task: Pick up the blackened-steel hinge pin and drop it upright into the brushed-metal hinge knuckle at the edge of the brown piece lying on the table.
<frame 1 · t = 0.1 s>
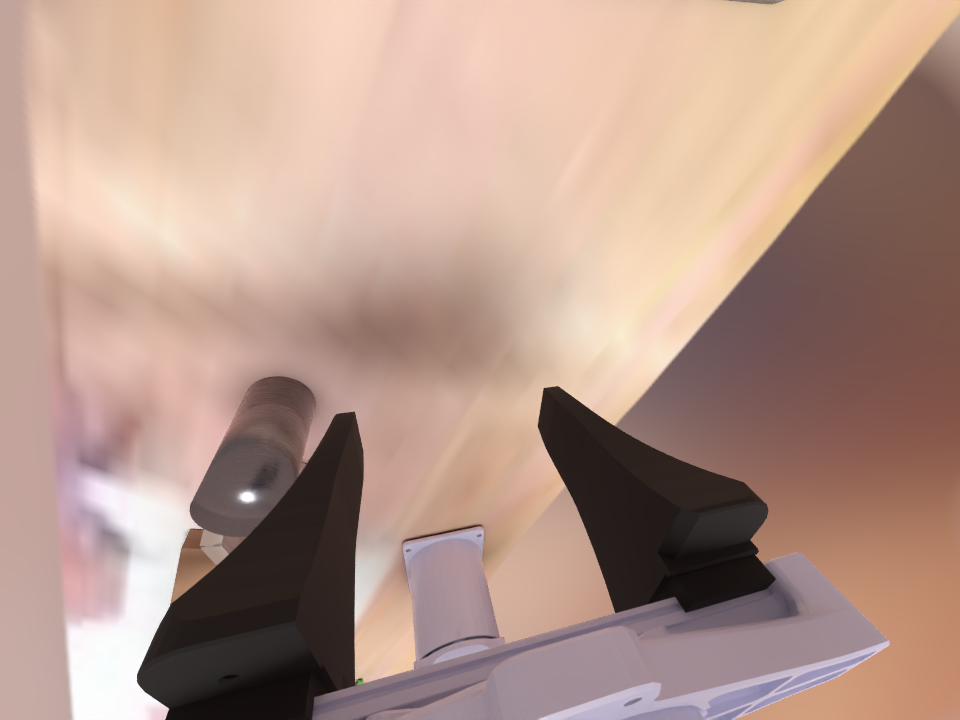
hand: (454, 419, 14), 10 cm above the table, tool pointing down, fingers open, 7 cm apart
brown piece: (288, 503, 28), on the table
hinge pin: (281, 402, 23), on the table
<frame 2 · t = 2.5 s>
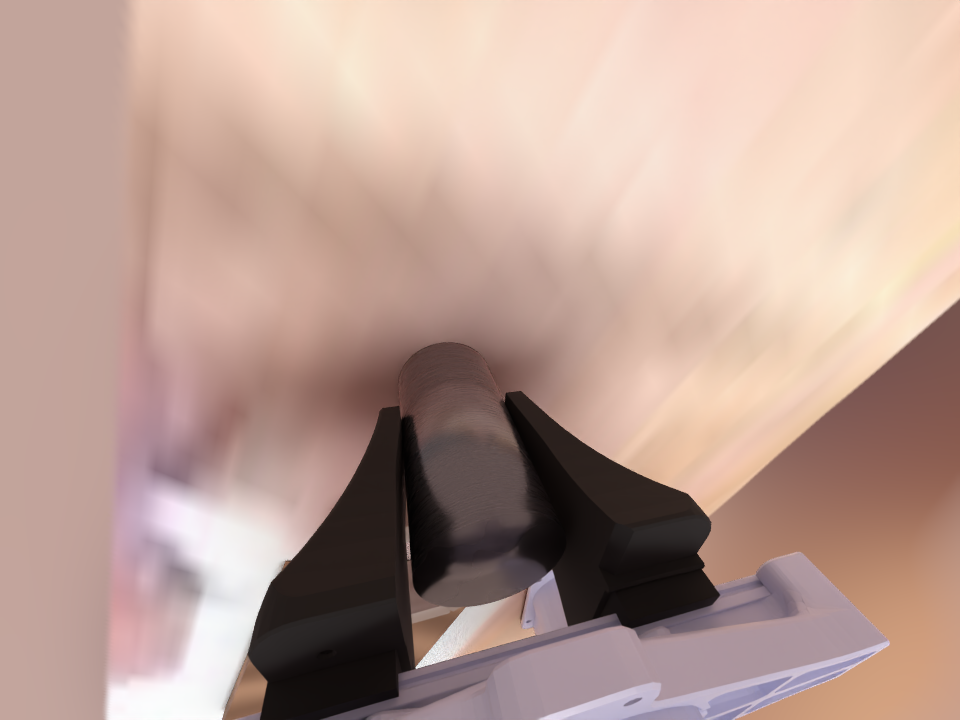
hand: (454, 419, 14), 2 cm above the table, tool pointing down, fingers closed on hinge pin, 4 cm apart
brown piece: (415, 525, 21), on the table
hinge pin: (445, 382, 16), on the table, touching gripper
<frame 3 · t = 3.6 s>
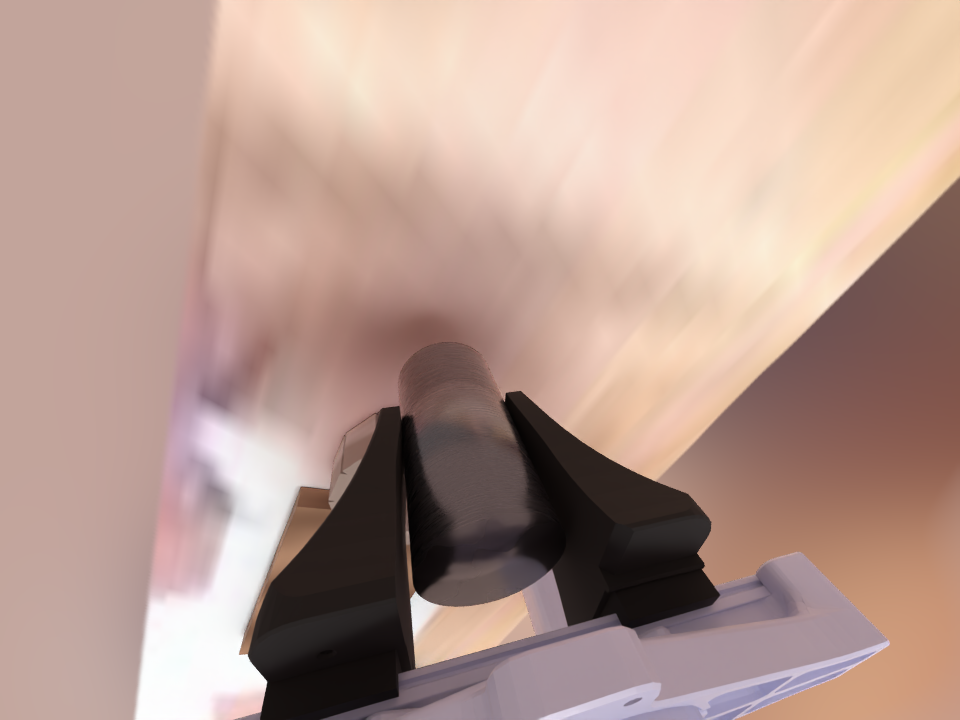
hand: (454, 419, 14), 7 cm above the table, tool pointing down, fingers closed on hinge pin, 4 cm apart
brown piece: (409, 459, 25), on the table
hinge pin: (445, 382, 16), point 5 cm above the table, touching gripper
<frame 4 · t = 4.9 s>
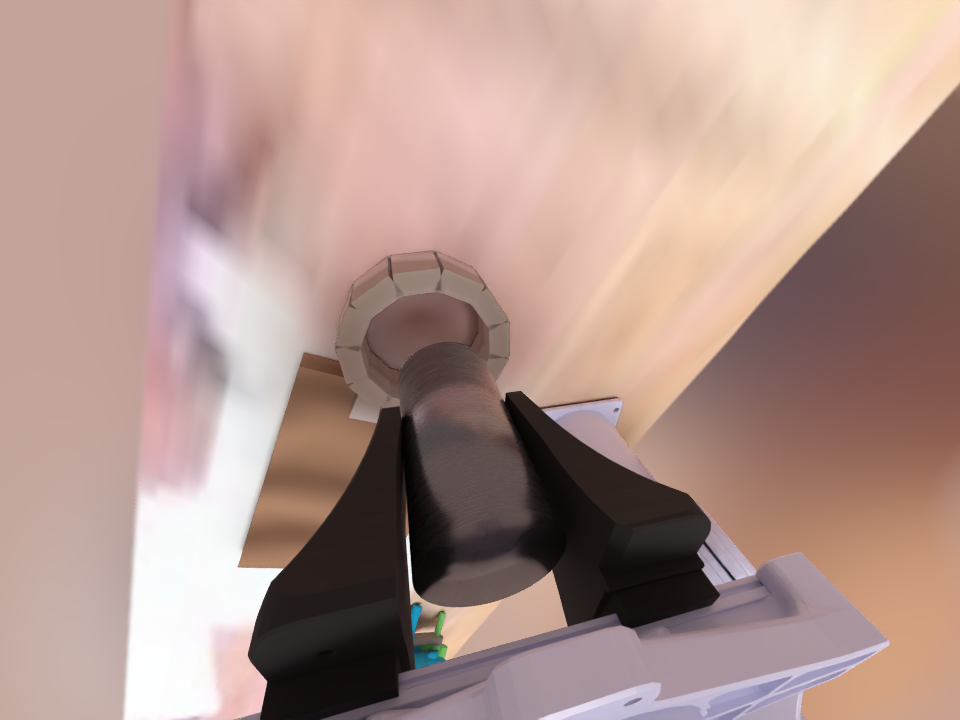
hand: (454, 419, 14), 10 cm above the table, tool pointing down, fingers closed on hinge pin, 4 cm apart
gear: (405, 615, 43), on the table
brown piece: (423, 328, 22), on the table
hinge pin: (445, 382, 15), point 7 cm above the table, touching gripper
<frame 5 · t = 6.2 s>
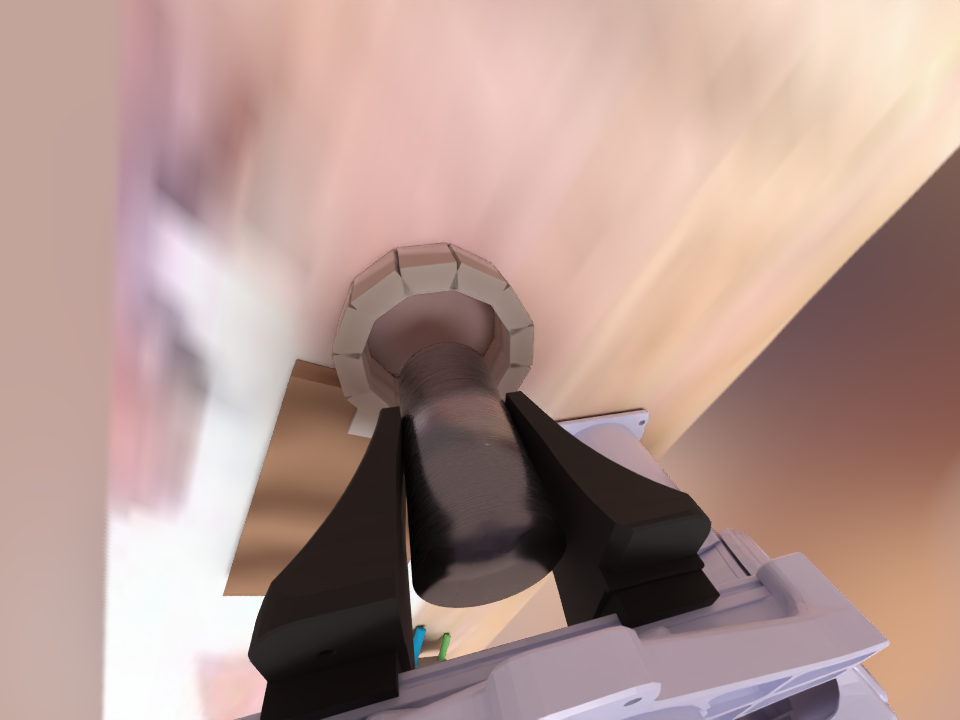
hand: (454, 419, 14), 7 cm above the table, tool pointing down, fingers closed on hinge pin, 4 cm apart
gear: (407, 638, 40), on the table
brown piece: (432, 331, 19), on the table
hinge pin: (445, 382, 15), point 5 cm above the table, touching gripper
when the fingers open (4 cm above the table, at t = 7.3 s): hinge pin drops 2 cm, resting in brown piece.
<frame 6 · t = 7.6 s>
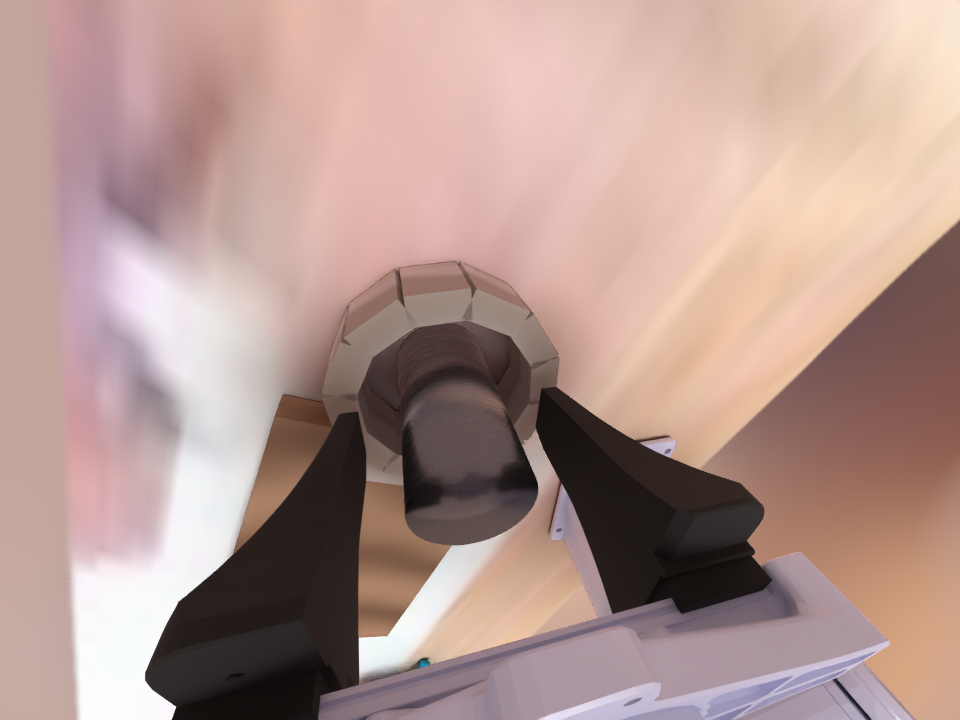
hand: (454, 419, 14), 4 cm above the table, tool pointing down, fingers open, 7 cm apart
brown piece: (439, 360, 17), on the table
hinge pin: (440, 360, 17), resting in brown piece
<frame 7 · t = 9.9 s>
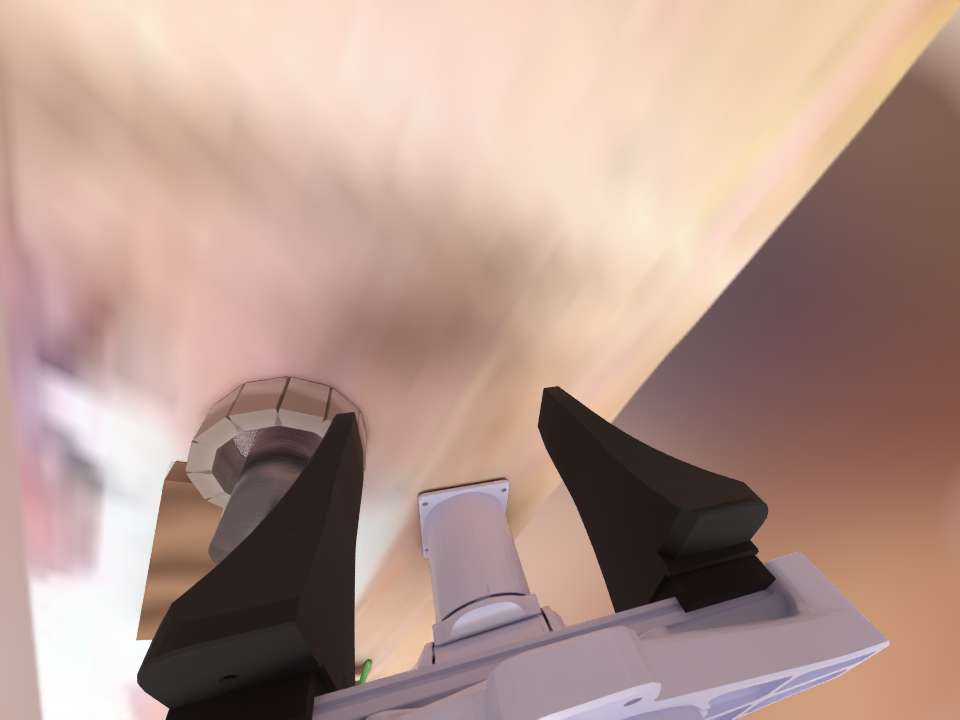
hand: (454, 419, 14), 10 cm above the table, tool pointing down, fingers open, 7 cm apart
brown piece: (291, 435, 24), on the table
hinge pin: (292, 435, 24), resting in brown piece
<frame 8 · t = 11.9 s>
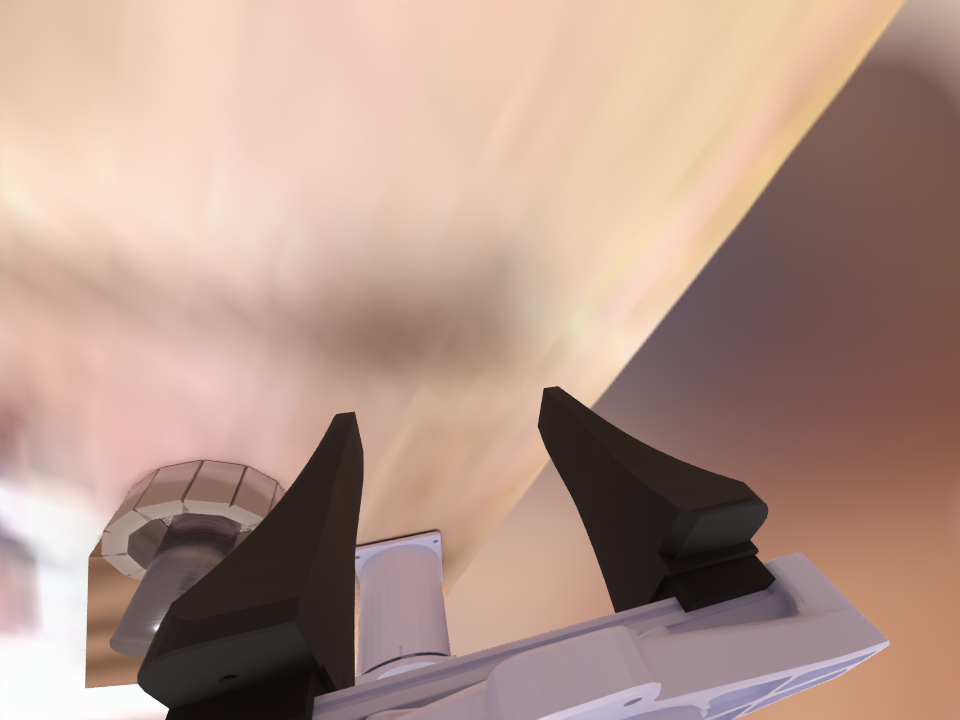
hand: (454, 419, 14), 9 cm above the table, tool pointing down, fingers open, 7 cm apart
brown piece: (214, 507, 25), on the table
hinge pin: (214, 507, 25), resting in brown piece
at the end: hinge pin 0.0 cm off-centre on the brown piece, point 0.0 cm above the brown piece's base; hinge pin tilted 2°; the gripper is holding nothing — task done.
